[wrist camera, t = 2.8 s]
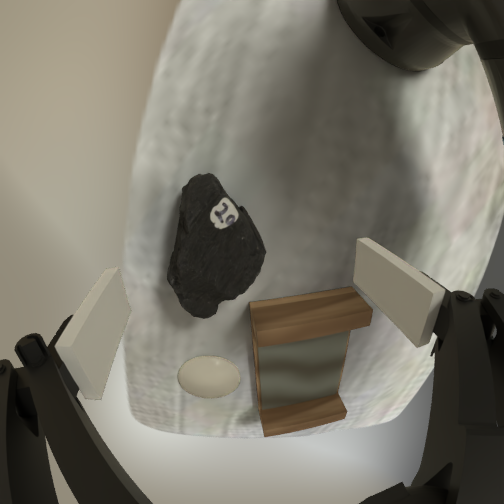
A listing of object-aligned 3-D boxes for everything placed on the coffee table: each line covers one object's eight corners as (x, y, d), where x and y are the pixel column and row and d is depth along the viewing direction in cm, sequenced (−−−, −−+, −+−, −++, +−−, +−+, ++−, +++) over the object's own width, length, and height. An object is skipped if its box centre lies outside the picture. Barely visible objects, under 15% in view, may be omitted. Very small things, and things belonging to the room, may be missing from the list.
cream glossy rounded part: (171, 356, 31) (171, 361, 30) (236, 350, 32) (236, 354, 31) (186, 396, 34) (186, 400, 33) (242, 390, 35) (243, 394, 34)
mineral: (135, 224, 25) (118, 244, 19) (209, 163, 24) (210, 167, 18) (202, 297, 28) (202, 330, 23) (272, 246, 28) (288, 270, 22)
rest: (249, 302, 29) (257, 331, 25) (351, 286, 31) (372, 309, 26) (258, 410, 37) (264, 437, 32) (333, 394, 38) (344, 418, 33)
